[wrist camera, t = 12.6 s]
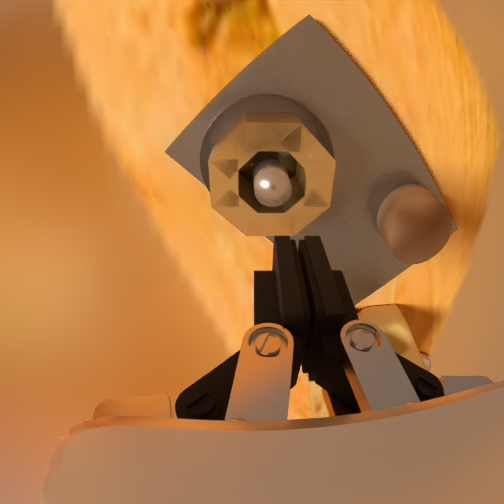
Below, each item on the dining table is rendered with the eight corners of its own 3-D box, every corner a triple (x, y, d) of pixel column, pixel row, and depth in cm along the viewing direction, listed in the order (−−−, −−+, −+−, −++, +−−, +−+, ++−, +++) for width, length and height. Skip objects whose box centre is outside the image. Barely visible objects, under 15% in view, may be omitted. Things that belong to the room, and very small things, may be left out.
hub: (347, 154, 22) (383, 193, 16) (263, 224, 26) (269, 281, 20) (266, 67, 18) (276, 69, 12) (180, 152, 22) (155, 193, 16)
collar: (324, 114, 18) (339, 126, 15) (315, 209, 22) (325, 235, 19) (213, 112, 18) (206, 123, 15) (217, 209, 22) (213, 236, 19)
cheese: (313, 305, 32) (330, 387, 23) (402, 300, 32) (434, 371, 24) (302, 360, 38) (311, 429, 30) (377, 353, 38) (396, 416, 30)
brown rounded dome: (437, 210, 25) (460, 234, 21) (391, 247, 27) (408, 275, 24) (411, 164, 22) (436, 185, 19) (359, 206, 25) (376, 233, 21)
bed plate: (451, 222, 25) (457, 228, 25) (346, 300, 31) (348, 308, 30) (305, 16, 16) (309, 14, 15) (168, 147, 21) (164, 151, 20)
